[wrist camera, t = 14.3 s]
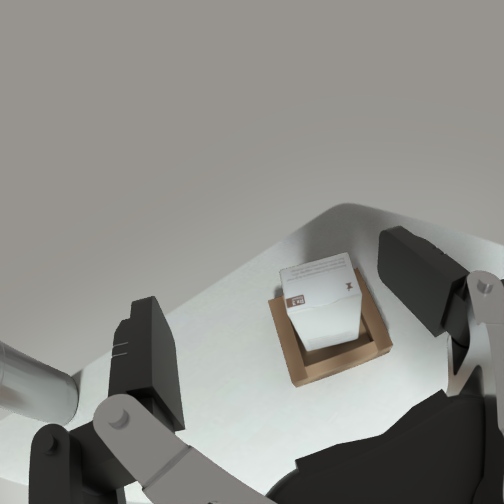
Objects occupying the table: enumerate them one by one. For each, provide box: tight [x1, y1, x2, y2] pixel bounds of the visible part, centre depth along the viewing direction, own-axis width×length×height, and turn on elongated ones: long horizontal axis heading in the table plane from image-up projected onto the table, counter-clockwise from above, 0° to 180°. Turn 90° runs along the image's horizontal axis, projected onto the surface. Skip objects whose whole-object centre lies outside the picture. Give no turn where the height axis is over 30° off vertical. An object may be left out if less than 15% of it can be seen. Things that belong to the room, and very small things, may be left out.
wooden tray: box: [268, 268, 393, 387], centre depth 32 cm, size 11×10×3 cm
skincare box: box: [279, 252, 362, 351], centre depth 28 cm, size 6×4×12 cm
